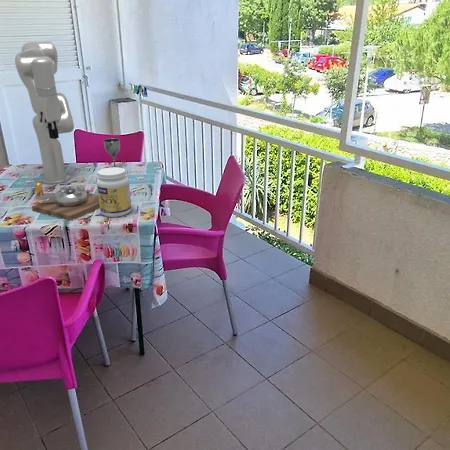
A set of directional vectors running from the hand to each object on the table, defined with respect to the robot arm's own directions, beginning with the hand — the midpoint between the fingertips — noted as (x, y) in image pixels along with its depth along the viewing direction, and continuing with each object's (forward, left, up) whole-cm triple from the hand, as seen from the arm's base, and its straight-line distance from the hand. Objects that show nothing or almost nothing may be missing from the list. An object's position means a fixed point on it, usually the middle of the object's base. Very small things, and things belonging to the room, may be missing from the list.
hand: (54, 138), depth 179 cm
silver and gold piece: (+9, -9, -23) cm, 27 cm away
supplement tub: (+32, -3, -26) cm, 42 cm away
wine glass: (-10, +42, -26) cm, 50 cm away
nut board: (+12, -7, -26) cm, 29 cm away
